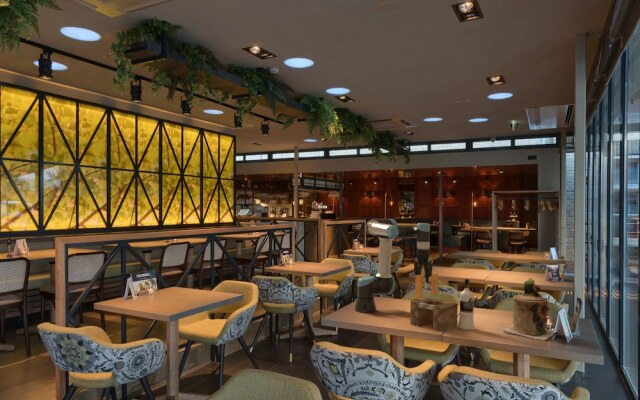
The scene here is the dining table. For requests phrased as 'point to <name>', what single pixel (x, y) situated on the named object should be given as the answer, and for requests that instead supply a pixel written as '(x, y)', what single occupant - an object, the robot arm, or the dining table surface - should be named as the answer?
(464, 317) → the vodka
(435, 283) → the wooden u-shaped block
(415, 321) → the dark wooden box
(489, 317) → the dining table surface
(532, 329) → the cookie jar
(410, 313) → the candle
